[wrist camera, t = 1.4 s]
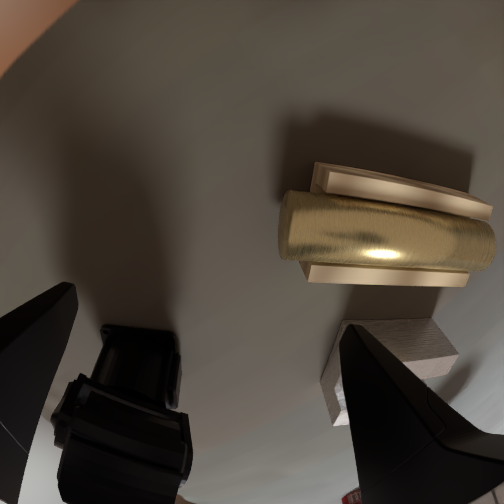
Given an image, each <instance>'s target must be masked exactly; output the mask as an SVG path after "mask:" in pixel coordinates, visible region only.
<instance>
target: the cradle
mask: <svg viewBox="0 0 504 504" xmlns="http://www.w3.org/2000/svg"><path fill="white" fill-rule="evenodd" d="M350 323H354V324H361V325H362V326H363V327H364V328H365V329H367V330H368V331H369V332H370V333H371V334H372V335H373V336H374V337H375V338H376V339H377V340H379V341H380V342H381V343H382V344H383V345H384V346H385V347H386V348H387V349H388V350H389V351H390V352H392V353H393V354H394V355H395V356H396V357H397V358H398V359H399V360H400V361H401V362H402V363H403V364H405V365H406V366H407V367H408V368H409V369H410V370H411V371H412V372H413V373H414V374H415V375H416V376H417V377H418V378H420V379H421V380H422V381H423V382H424V380H423V379H426V378H431V377H437V376H442V375H447V374H448V372H449V370H450V369H451V367H452V366H453V364H454V362H455V361H456V359H457V357H458V356H459V353H458V352H457V350H456V349H455V348H454V346H453V345H452V344H451V342H450V341H449V340H448V338H447V337H446V336H445V334H444V333H443V332H442V331H441V329H440V328H439V327H438V325H437V324H436V323H435V322H434V320H433V319H432V318H419V319H391V320H342V323H341V326H340V329H339V332H338V335H337V337H336V340H335V343H334V346H333V349H332V351H331V354H330V357H329V359H328V362H327V365H326V367H325V370H324V373H323V375H322V378H321V380H320V385H321V388H322V391H323V395H324V398H325V401H326V405H327V408H328V411H329V415H330V418H331V422H332V425H333V426H339V425H347V424H349V418H348V413H347V408H346V402H345V397H344V392H343V386H342V377H341V365H340V354H339V342H340V339H341V337H342V335H343V333H344V331H345V329H346V327H347V325H348V324H350ZM424 383H425V382H424ZM425 384H426V383H425Z"/></svg>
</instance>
